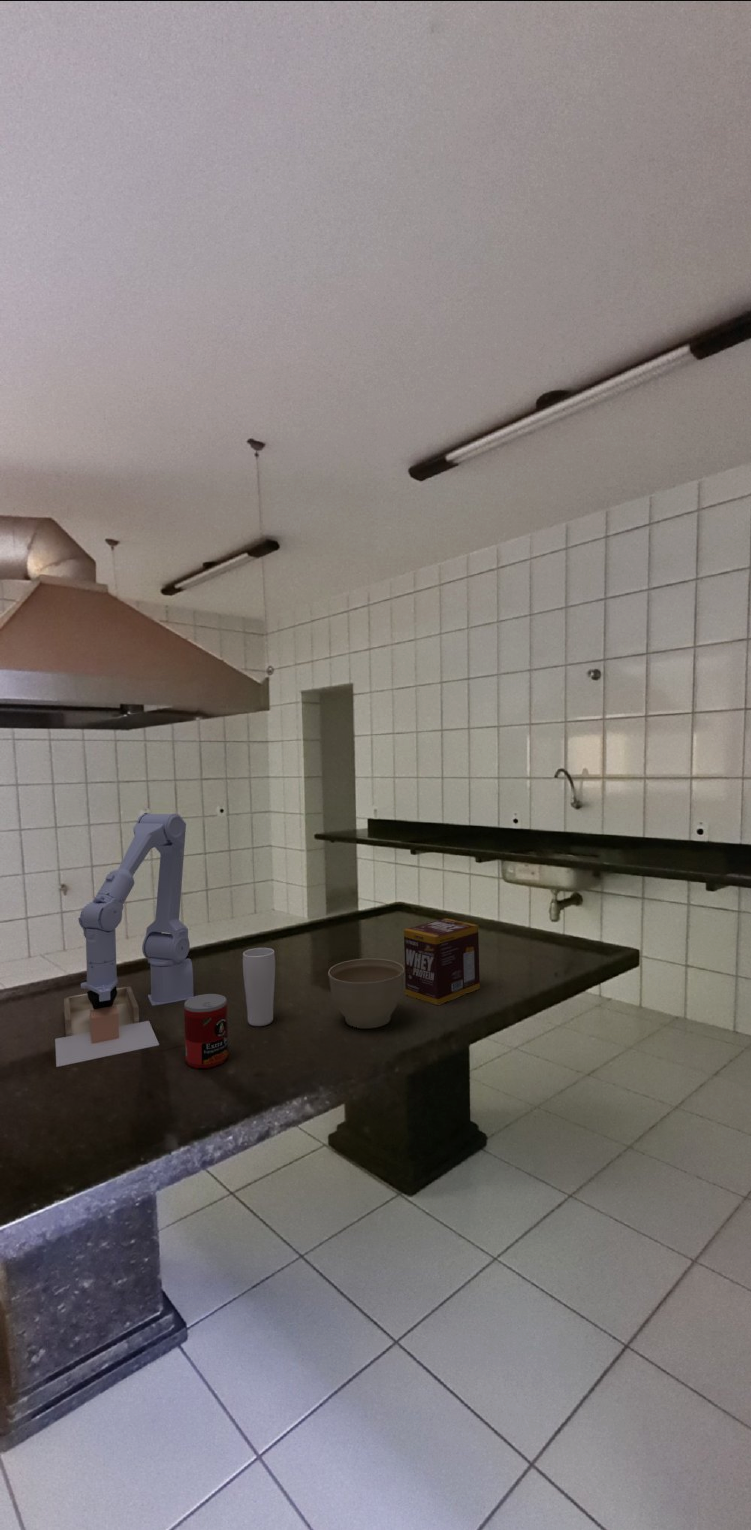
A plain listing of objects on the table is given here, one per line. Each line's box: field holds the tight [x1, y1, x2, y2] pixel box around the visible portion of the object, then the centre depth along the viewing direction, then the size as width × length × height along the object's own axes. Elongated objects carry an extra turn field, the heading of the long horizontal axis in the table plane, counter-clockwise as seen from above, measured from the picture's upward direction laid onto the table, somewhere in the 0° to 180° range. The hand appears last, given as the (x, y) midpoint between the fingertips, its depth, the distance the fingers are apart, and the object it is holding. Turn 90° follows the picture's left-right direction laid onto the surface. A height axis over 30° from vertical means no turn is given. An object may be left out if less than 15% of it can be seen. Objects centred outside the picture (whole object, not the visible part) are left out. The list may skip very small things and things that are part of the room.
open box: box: [63, 985, 140, 1037], centre depth 141 cm, size 14×15×4 cm
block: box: [90, 1006, 119, 1044], centre depth 130 cm, size 5×5×5 cm
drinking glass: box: [242, 947, 276, 1027], centre depth 137 cm, size 7×7×15 cm
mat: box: [54, 1020, 160, 1068], centre depth 128 cm, size 18×14×1 cm
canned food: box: [183, 993, 229, 1069], centre depth 120 cm, size 8×8×11 cm
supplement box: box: [403, 918, 481, 1005], centre depth 152 cm, size 10×15×16 cm
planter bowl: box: [327, 958, 405, 1029], centre depth 136 cm, size 16×16×11 cm
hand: (103, 1025), depth 134 cm, fingers closed
